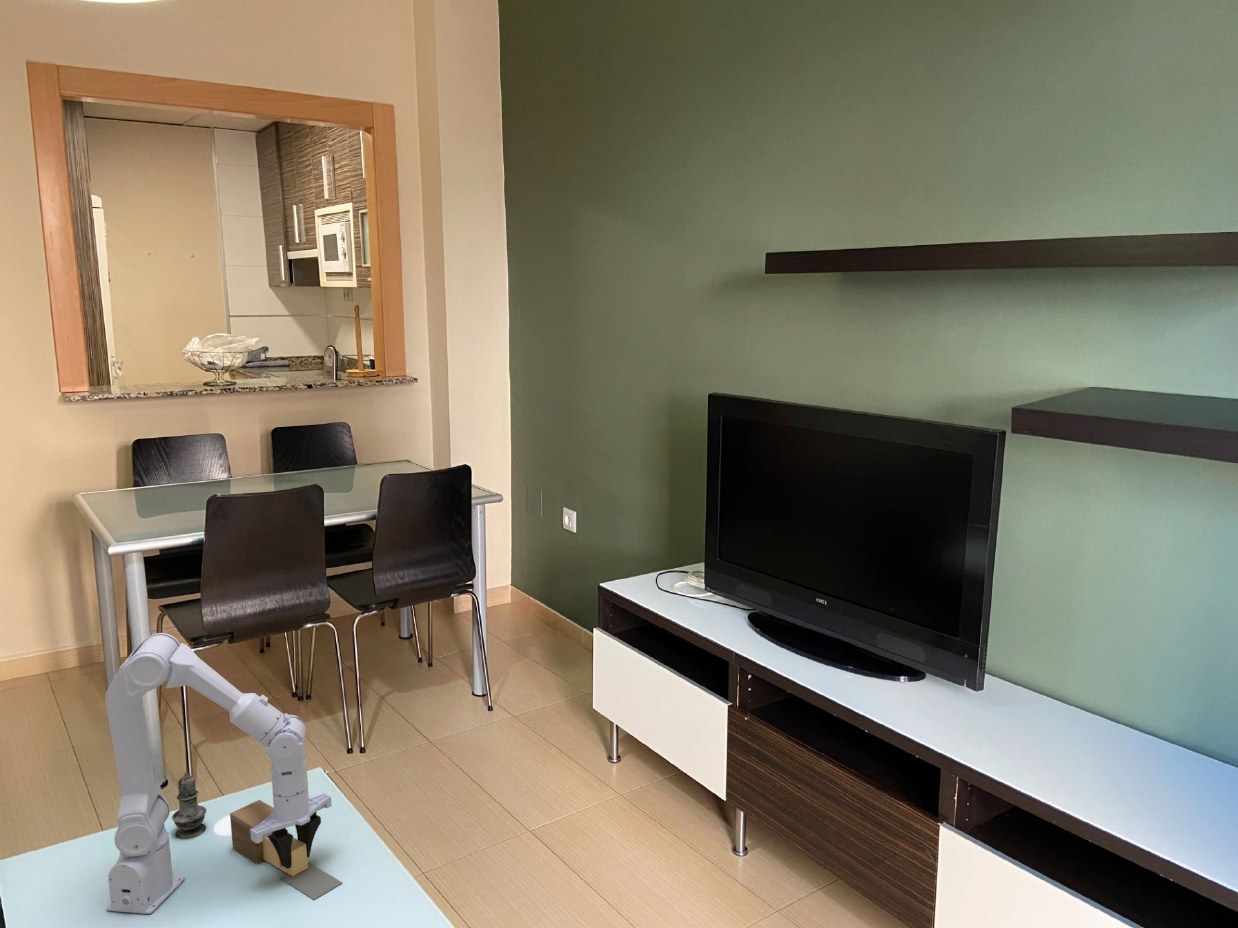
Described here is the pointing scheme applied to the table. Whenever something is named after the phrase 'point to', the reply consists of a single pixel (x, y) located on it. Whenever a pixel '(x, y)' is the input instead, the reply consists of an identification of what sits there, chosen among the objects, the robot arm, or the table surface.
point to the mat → (312, 881)
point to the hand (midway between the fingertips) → (295, 860)
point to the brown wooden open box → (248, 828)
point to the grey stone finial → (188, 810)
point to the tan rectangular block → (296, 854)
